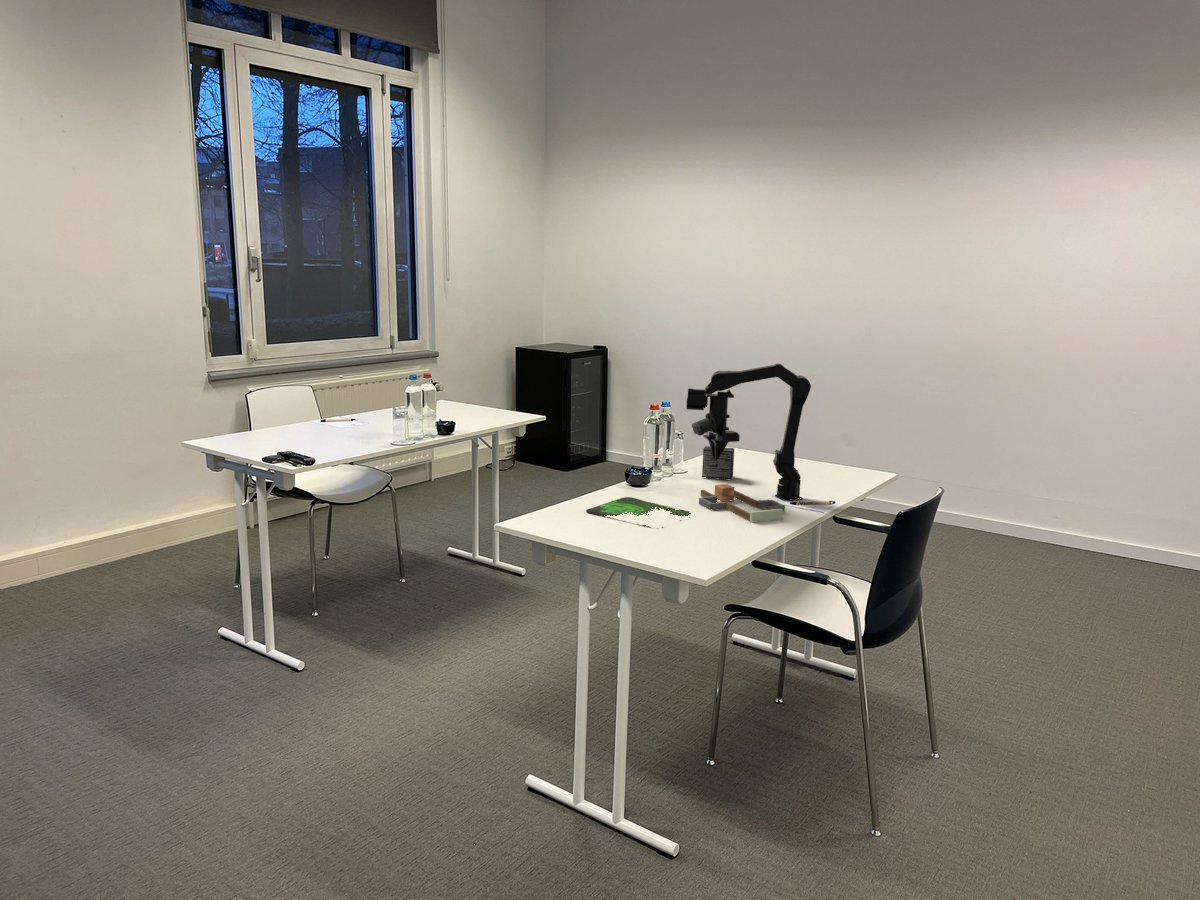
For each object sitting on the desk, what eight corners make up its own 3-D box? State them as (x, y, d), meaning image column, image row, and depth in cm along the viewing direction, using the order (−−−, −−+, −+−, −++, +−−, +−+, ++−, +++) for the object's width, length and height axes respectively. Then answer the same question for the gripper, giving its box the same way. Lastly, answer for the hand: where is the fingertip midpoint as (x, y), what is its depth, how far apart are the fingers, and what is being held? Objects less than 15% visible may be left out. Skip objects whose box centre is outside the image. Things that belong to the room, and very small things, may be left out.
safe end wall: (780, 518, 264) (780, 508, 263) (782, 519, 263) (782, 509, 262) (749, 521, 260) (750, 511, 259) (751, 522, 259) (752, 512, 258)
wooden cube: (726, 497, 286) (727, 483, 285) (733, 500, 282) (734, 487, 281) (714, 498, 285) (715, 484, 284) (721, 502, 281) (722, 488, 280)
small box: (733, 476, 314) (735, 447, 312) (731, 480, 308) (733, 451, 306) (703, 473, 317) (705, 445, 315) (701, 478, 311) (702, 448, 309)
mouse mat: (699, 514, 267) (699, 511, 267) (659, 531, 250) (659, 527, 249) (625, 498, 283) (625, 495, 282) (582, 513, 265) (582, 510, 265)
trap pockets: (755, 498, 286) (755, 492, 285) (785, 512, 270) (785, 506, 270) (698, 503, 278) (698, 497, 277) (725, 518, 262) (725, 511, 262)
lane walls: (728, 493, 291) (729, 487, 290) (780, 518, 264) (780, 511, 263) (700, 495, 287) (700, 489, 286) (749, 521, 260) (750, 514, 259)
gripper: (682, 407, 289) (680, 453, 292) (710, 416, 272) (707, 466, 275) (712, 405, 293) (710, 451, 296) (741, 415, 276) (739, 464, 279)
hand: (715, 458), depth 287 cm, fingers closed
